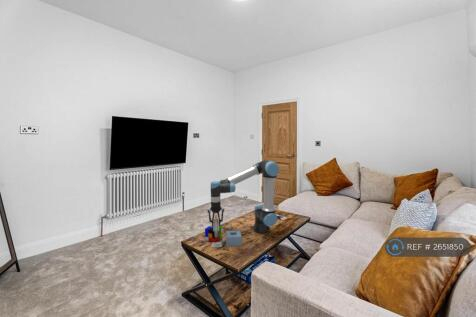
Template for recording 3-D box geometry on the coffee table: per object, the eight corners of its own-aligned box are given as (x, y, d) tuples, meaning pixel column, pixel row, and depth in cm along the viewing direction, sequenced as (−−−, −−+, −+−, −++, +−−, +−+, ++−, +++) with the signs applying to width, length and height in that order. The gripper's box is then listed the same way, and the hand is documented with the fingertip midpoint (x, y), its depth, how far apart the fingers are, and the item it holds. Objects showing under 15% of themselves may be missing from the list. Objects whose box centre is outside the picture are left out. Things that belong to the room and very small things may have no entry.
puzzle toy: (205, 240, 182) (204, 228, 182) (211, 236, 191) (211, 224, 191) (215, 242, 178) (215, 230, 178) (221, 237, 187) (221, 226, 187)
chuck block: (240, 238, 185) (240, 230, 184) (241, 245, 173) (241, 236, 173) (221, 239, 184) (221, 231, 183) (221, 246, 172) (221, 237, 171)
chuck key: (218, 234, 178) (217, 214, 177) (218, 238, 171) (217, 218, 169) (214, 234, 178) (214, 214, 177) (214, 238, 170) (213, 218, 169)
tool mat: (221, 242, 179) (221, 241, 179) (222, 247, 171) (221, 246, 171) (211, 242, 179) (211, 242, 179) (211, 247, 171) (211, 247, 171)
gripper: (225, 199, 176) (226, 228, 178) (205, 200, 175) (206, 228, 177) (226, 202, 169) (226, 231, 171) (205, 202, 168) (205, 232, 170)
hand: (216, 230), depth 174 cm, fingers closed on chuck key, 3 cm apart
